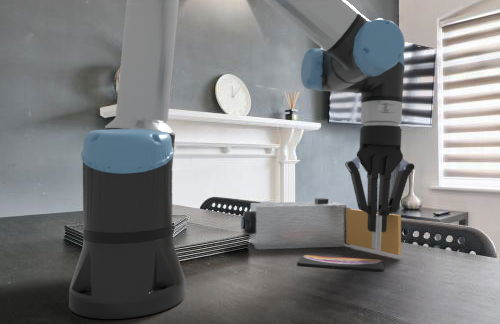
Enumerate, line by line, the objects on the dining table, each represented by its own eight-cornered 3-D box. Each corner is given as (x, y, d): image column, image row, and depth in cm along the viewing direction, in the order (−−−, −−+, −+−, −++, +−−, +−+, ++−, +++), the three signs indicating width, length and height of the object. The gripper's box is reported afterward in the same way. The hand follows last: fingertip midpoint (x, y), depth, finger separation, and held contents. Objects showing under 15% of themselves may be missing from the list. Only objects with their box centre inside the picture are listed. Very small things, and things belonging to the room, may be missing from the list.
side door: (404, 255, 77) (404, 213, 77) (398, 256, 76) (398, 214, 76) (350, 243, 88) (350, 207, 88) (344, 244, 87) (344, 207, 87)
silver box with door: (244, 250, 84) (244, 202, 84) (239, 242, 92) (239, 198, 92) (346, 246, 88) (346, 200, 88) (333, 239, 96) (333, 197, 96)
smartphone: (302, 254, 79) (383, 259, 75) (303, 258, 79) (383, 264, 75) (296, 262, 72) (384, 268, 67) (296, 267, 72) (384, 274, 67)
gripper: (352, 122, 73) (347, 251, 73) (421, 125, 73) (416, 254, 73) (343, 126, 81) (339, 243, 81) (406, 128, 80) (402, 246, 80)
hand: (376, 248), depth 77 cm, fingers closed
